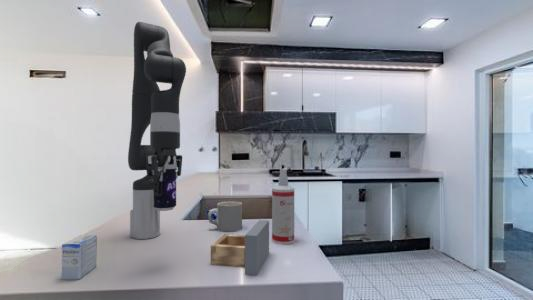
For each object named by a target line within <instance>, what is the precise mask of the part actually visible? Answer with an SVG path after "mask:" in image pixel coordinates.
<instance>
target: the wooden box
mask: <svg viewBox="0 0 533 300" xmlns="http://www.w3.org/2000/svg"><path fill="white" fill-rule="evenodd" d="M245 235H246V234H244V235H243V234H242V235H241V234H230V233H229V234H226V233H225V234H223V235H221V237H219V238H218V239H217V240H216V241H214V242H213V243H212V244H210V265H217V266H229V267H241V268H245Z"/></svg>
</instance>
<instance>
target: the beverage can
mask: <svg viewBox="0 0 533 300" xmlns="http://www.w3.org/2000/svg"><path fill="white" fill-rule="evenodd" d="M162 168H163V167H158V169H162ZM176 171H177V170H176V167H175V164H171V165H167V169H166V173H164V177H163V180H162V181H163V195H162V196H154V208H156V209H157V210H158V211H160V212H168V211H171V210H174V208H175V207H176V206H177V179H176ZM158 174H159V175H160V172H158Z"/></svg>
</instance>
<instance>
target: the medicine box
mask: <svg viewBox="0 0 533 300" xmlns="http://www.w3.org/2000/svg"><path fill="white" fill-rule="evenodd" d="M97 238H98V236H97V235H96V234H80V235H78V236H75V237H74V238H72V239H70V240H68V241H67V242H64V243H62V245H61V280H63V281H66V280H67V281H71V280H72V281H73V280H81V279H82V278H83V277H85V276H86V275H88V273H90V271H92V270H93V269H94V268H96V267H97V258H98V257H97V255H98V253H97V250H98V249H97V247H98V243H97V242H98V239H97Z"/></svg>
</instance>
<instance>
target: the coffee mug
mask: <svg viewBox="0 0 533 300" xmlns="http://www.w3.org/2000/svg"><path fill="white" fill-rule="evenodd" d="M216 207H217V208H211V209H210V210H209V211H208V214H207V219H208V222H209V223H210V224H212V225H215V226H216V230H217V231H219V232H223V233H235V232H238V231H241V230H242V229H243V203H242V202H241V201H240V202H239V201H221V202H218V203H217V204H216ZM213 214H216V218H215V219H213V218H212V215H213Z"/></svg>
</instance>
